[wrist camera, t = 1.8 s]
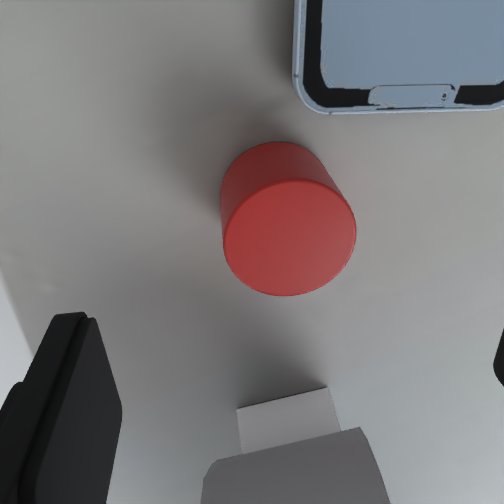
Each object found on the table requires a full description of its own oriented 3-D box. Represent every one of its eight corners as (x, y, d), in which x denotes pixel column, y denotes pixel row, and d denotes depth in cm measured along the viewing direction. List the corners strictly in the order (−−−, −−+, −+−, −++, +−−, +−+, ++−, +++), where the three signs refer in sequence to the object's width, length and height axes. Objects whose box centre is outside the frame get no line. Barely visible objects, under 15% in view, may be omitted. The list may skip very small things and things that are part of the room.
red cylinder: (214, 145, 15) (216, 185, 12) (331, 136, 15) (362, 173, 12) (224, 247, 17) (228, 303, 14) (327, 238, 17) (353, 291, 14)
